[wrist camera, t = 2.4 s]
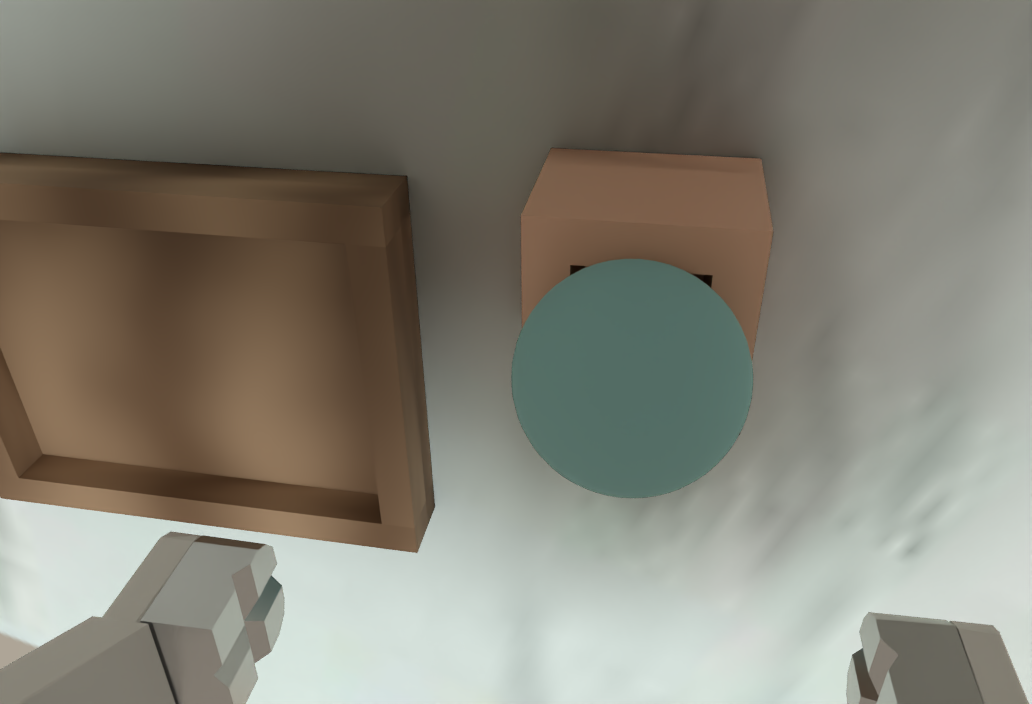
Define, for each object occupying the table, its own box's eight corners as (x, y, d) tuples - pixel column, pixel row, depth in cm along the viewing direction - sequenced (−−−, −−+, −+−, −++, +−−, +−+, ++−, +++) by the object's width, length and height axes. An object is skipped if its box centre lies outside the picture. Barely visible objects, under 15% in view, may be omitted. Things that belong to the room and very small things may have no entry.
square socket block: (761, 158, 19) (773, 231, 16) (734, 339, 22) (739, 434, 18) (551, 148, 20) (520, 215, 17) (549, 323, 22) (522, 412, 19)
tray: (406, 175, 21) (381, 207, 19) (434, 506, 27) (417, 552, 25) (-85, 147, 23) (-145, 173, 22) (40, 458, 29) (0, 498, 27)
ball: (762, 228, 16) (779, 351, 13) (733, 414, 19) (740, 564, 15) (532, 213, 17) (484, 325, 13) (532, 395, 19) (492, 534, 16)
